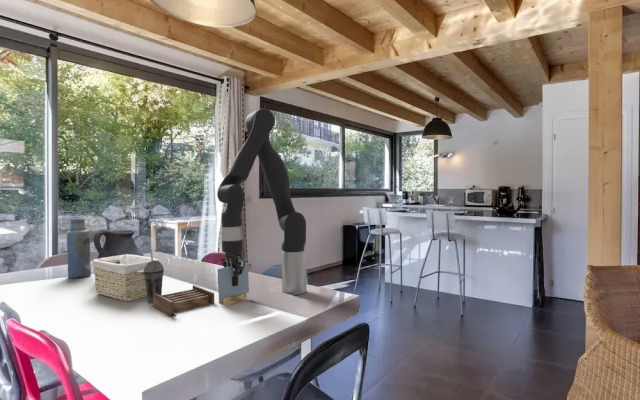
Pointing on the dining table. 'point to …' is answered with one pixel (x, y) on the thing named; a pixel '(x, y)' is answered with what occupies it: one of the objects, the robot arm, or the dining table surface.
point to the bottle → (78, 249)
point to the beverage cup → (153, 278)
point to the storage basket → (121, 276)
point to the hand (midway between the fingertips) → (233, 285)
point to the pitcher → (116, 243)
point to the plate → (226, 282)
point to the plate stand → (233, 299)
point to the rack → (183, 300)
